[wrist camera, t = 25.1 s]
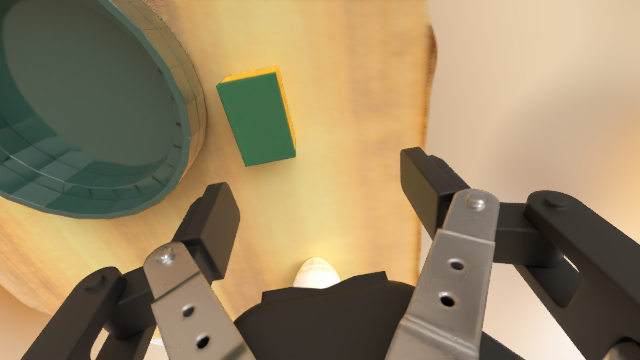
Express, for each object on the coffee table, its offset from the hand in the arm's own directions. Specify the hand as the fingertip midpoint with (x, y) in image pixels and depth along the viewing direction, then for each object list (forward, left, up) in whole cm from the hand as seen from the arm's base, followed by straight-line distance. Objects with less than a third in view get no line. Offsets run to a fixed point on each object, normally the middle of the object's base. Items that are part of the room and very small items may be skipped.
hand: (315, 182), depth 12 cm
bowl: (-4, -18, -15) cm, 24 cm away
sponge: (0, -4, -15) cm, 15 cm away
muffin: (+22, -3, -15) cm, 27 cm away
